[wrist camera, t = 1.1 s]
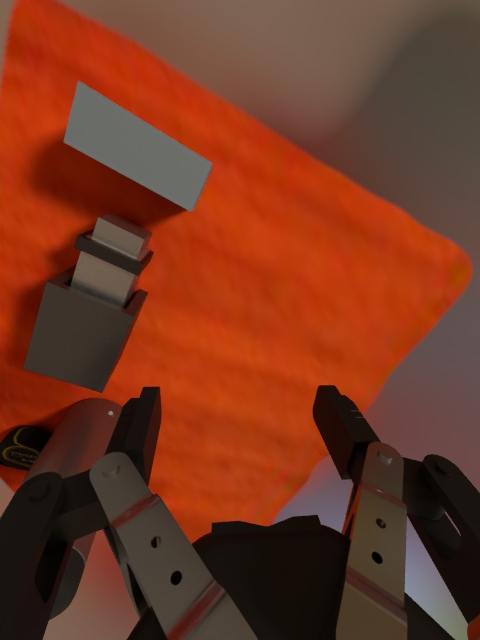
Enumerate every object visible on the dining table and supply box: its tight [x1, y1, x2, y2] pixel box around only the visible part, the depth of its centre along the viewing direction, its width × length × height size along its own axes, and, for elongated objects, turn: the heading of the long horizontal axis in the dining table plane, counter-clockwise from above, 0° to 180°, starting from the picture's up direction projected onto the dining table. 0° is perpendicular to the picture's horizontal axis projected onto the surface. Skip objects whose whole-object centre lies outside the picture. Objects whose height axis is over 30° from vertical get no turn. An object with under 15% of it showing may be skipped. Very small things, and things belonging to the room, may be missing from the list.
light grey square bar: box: [70, 213, 154, 309], centre depth 29 cm, size 17×6×6 cm, turn 151°
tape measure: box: [0, 426, 52, 471], centre depth 40 cm, size 7×7×4 cm
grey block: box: [64, 81, 213, 212], centre depth 24 cm, size 4×10×7 cm, turn 61°
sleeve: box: [23, 264, 148, 393], centre depth 31 cm, size 10×8×7 cm
